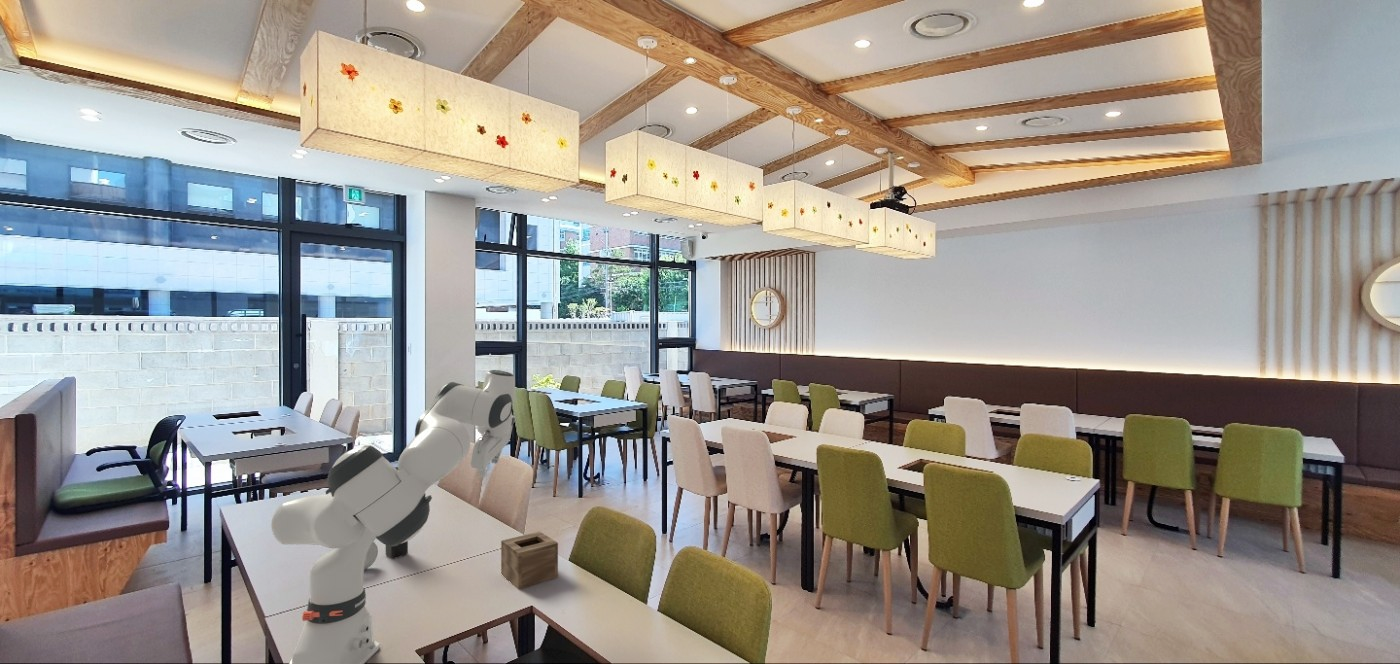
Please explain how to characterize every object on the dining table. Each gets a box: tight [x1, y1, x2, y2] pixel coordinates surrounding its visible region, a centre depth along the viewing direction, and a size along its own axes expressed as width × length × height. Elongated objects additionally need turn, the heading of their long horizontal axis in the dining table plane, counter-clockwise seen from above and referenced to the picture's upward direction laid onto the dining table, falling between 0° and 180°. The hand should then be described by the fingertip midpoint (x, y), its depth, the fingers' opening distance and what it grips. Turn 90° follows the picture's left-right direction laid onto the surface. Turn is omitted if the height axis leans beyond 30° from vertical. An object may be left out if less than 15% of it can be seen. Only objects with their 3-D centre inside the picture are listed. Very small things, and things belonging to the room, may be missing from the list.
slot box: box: [500, 531, 559, 590], centre depth 190 cm, size 13×13×11 cm
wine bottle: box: [385, 466, 409, 559], centre depth 206 cm, size 6×6×30 cm
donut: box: [364, 541, 379, 571], centre depth 193 cm, size 10×4×10 cm, turn 143°
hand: (488, 469), depth 173 cm, fingers open, 8 cm apart
